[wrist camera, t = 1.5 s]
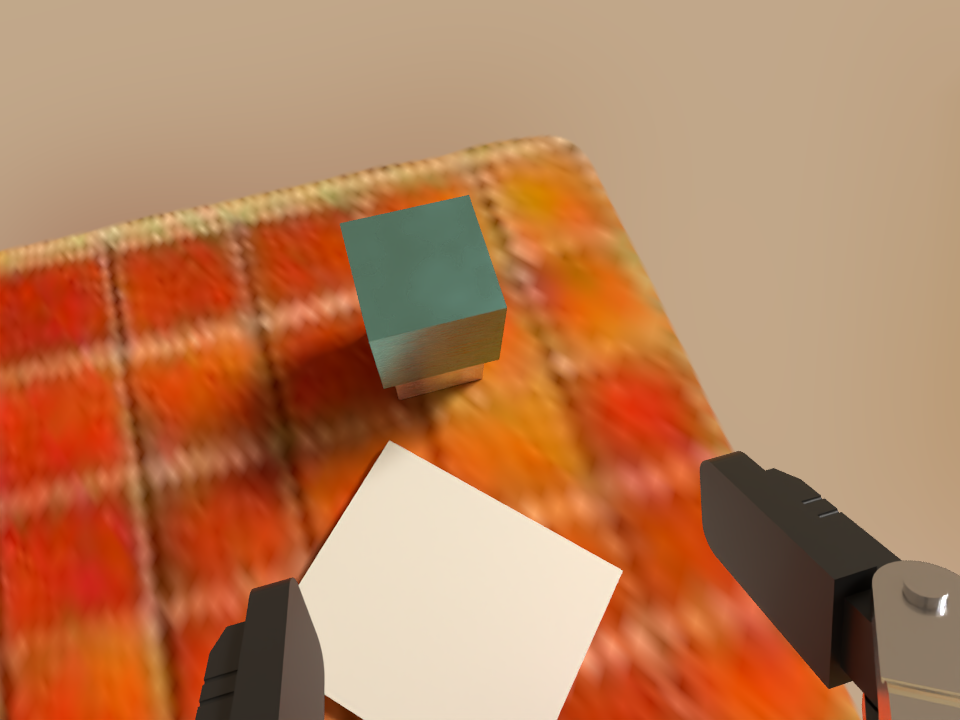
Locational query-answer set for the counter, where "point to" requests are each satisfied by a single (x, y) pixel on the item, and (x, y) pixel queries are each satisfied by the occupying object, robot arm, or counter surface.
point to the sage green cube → (426, 290)
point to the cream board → (449, 602)
